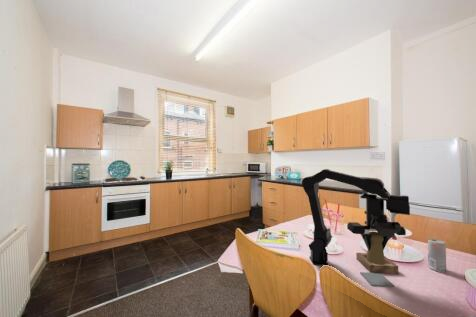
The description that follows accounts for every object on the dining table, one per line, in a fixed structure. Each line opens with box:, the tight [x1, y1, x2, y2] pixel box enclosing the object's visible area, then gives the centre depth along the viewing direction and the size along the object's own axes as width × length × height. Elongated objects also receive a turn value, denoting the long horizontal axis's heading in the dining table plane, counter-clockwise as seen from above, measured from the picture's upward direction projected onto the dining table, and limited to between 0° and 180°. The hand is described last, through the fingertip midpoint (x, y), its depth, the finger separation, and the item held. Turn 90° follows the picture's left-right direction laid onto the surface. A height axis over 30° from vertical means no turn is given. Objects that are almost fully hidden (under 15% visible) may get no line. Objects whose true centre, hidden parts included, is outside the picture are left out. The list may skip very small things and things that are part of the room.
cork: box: [366, 231, 385, 265], centre depth 76 cm, size 6×6×11 cm
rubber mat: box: [359, 271, 395, 288], centre depth 75 cm, size 8×8×1 cm
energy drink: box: [427, 238, 447, 274], centre depth 82 cm, size 5×5×12 cm
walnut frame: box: [355, 252, 399, 274], centre depth 85 cm, size 11×11×3 cm
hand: (375, 250), depth 76 cm, fingers closed on cork, 4 cm apart
